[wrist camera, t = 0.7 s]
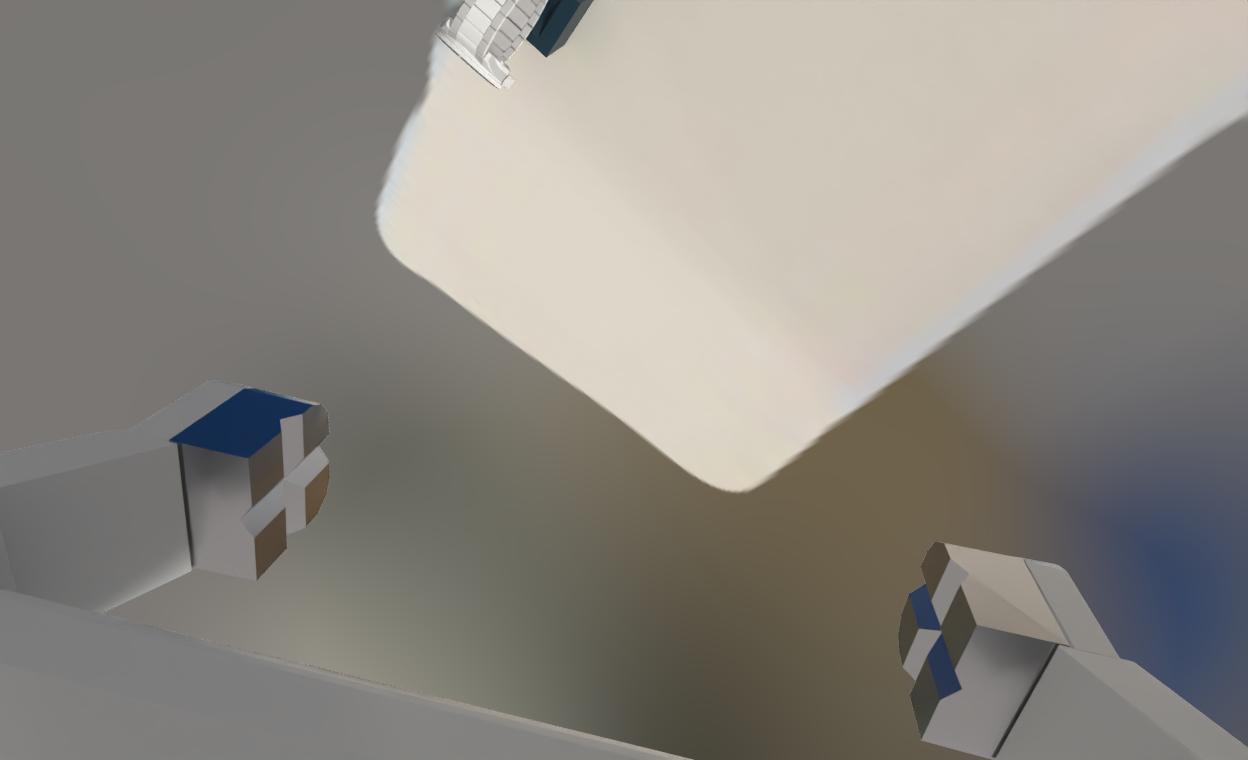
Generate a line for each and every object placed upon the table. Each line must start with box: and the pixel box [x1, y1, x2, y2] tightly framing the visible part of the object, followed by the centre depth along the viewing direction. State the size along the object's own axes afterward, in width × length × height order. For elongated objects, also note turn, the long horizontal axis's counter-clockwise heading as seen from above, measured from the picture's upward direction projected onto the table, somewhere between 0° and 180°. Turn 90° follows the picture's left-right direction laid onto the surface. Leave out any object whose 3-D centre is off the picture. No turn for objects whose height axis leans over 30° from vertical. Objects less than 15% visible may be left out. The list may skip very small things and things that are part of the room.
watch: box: [435, 0, 593, 89], centre depth 46 cm, size 6×8×11 cm
